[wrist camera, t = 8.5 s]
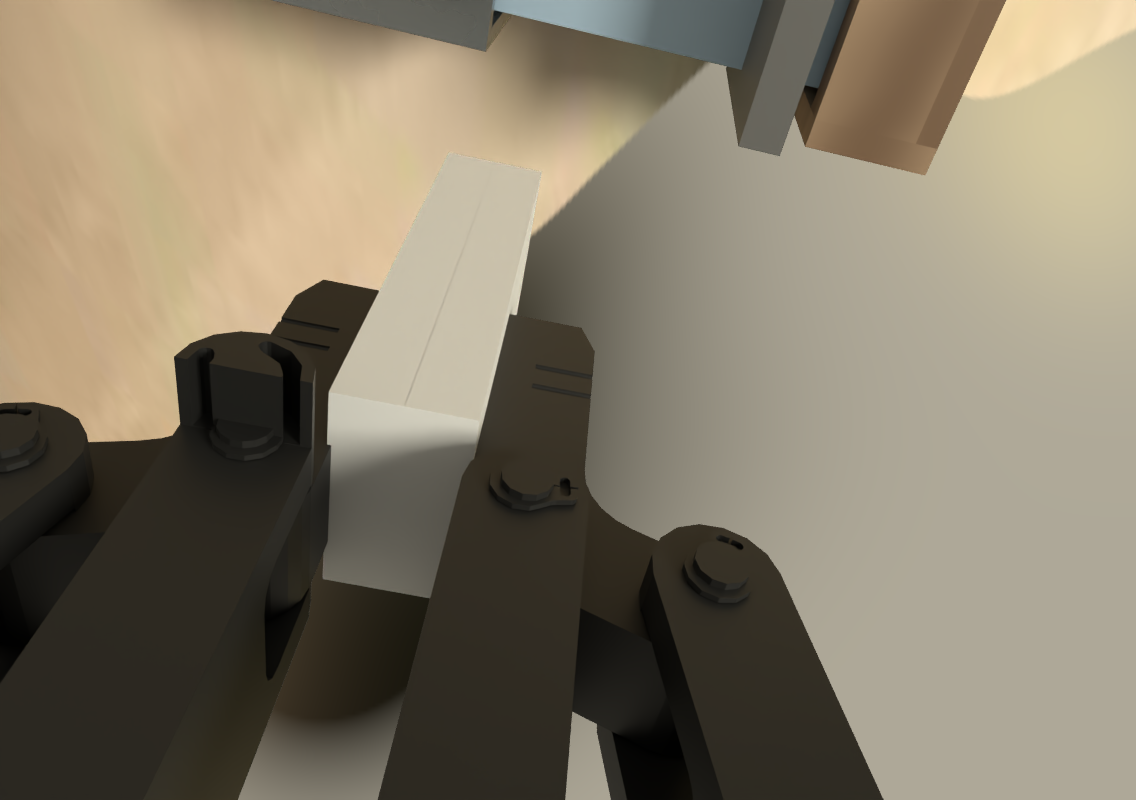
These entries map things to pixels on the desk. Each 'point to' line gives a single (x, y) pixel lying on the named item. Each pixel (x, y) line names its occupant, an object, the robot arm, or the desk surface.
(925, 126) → the socket block
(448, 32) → the sleeve
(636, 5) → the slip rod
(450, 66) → the desk surface
